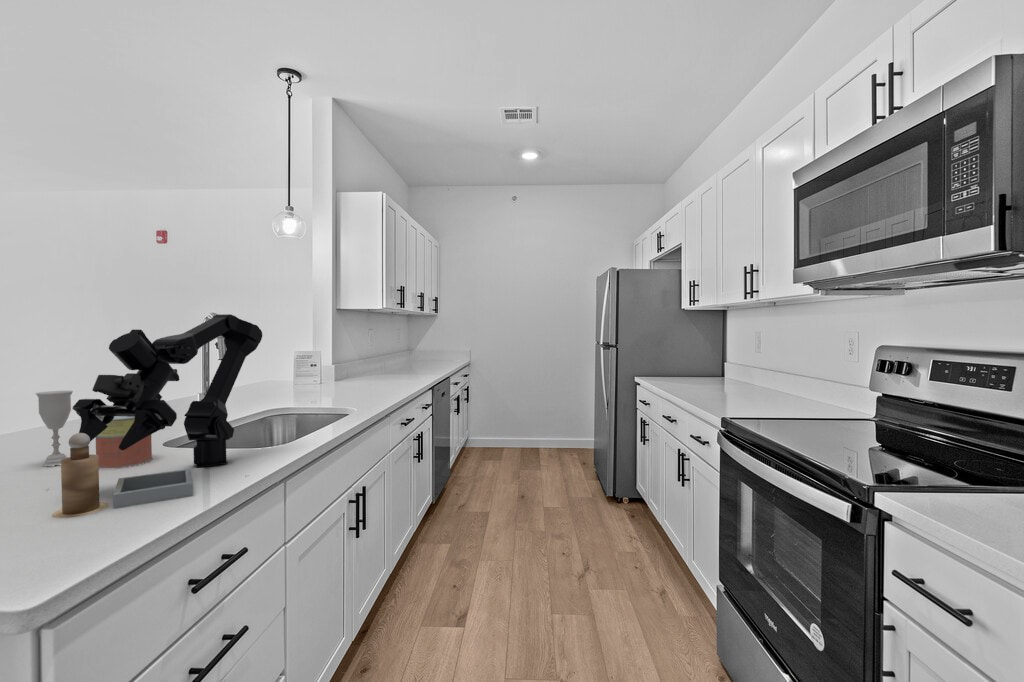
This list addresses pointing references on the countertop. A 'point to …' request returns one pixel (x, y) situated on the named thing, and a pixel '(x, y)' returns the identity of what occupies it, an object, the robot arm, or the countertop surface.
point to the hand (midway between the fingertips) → (98, 448)
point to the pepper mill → (80, 477)
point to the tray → (152, 488)
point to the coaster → (59, 513)
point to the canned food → (111, 440)
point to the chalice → (54, 418)
